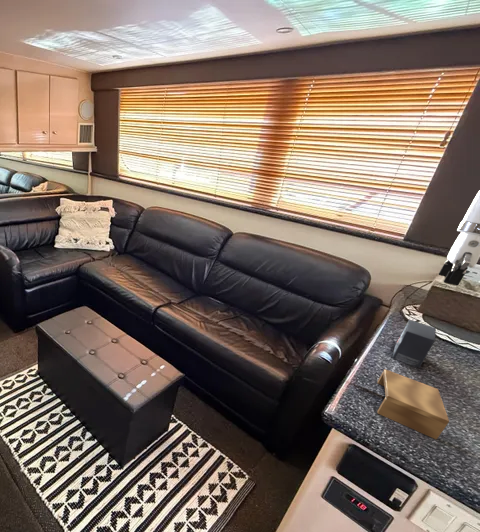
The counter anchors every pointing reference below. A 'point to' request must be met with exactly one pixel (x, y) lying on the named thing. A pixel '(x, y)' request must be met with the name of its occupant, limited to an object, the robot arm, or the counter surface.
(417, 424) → the tan bracket
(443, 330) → the counter surface
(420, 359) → the small box
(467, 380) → the counter surface
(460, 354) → the counter surface
